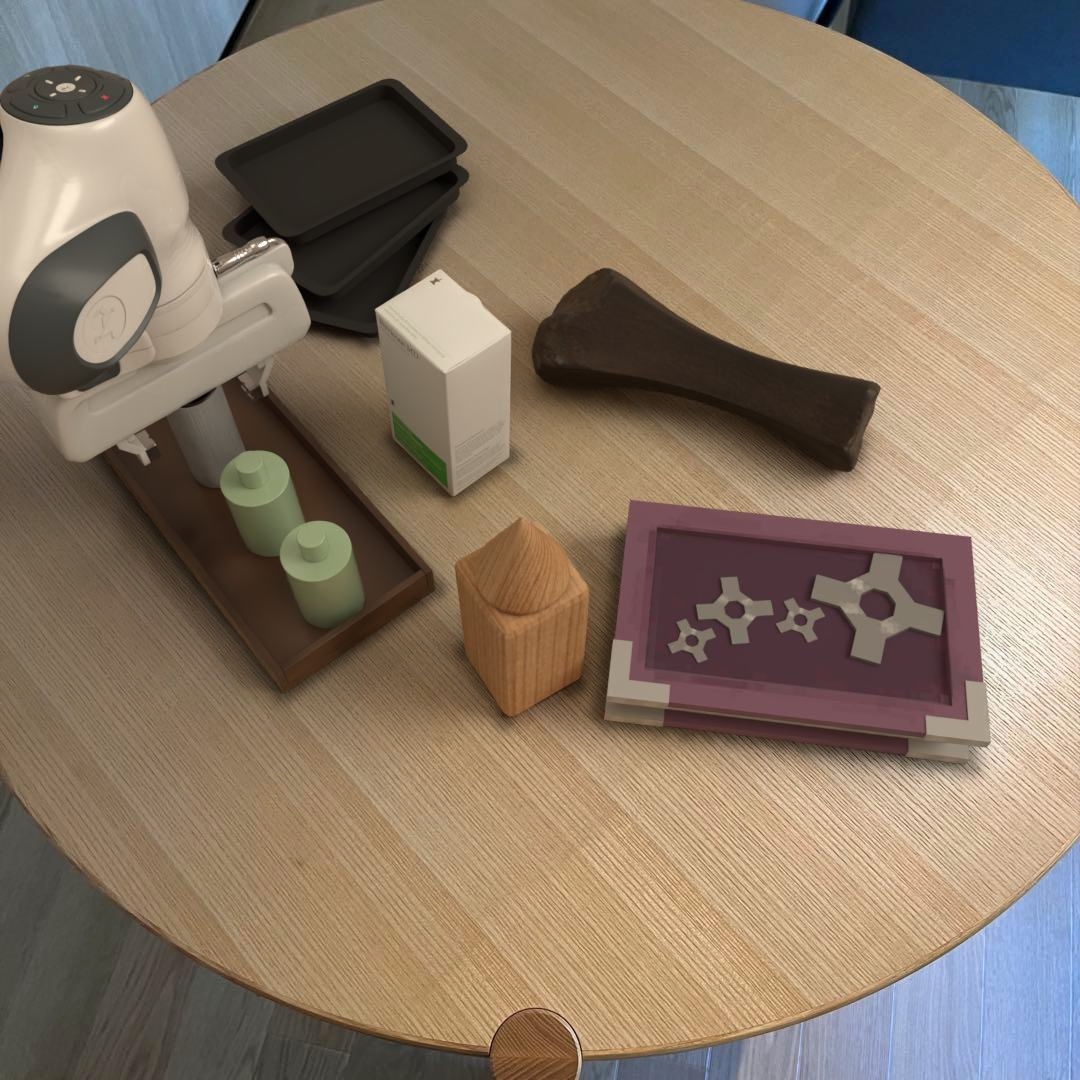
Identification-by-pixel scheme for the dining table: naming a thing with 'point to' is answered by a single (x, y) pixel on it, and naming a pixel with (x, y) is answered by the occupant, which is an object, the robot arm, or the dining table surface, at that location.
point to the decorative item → (523, 615)
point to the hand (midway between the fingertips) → (203, 424)
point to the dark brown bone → (697, 368)
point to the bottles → (293, 538)
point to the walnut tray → (260, 582)
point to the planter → (207, 436)
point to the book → (799, 632)
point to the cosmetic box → (447, 380)
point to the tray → (350, 198)
